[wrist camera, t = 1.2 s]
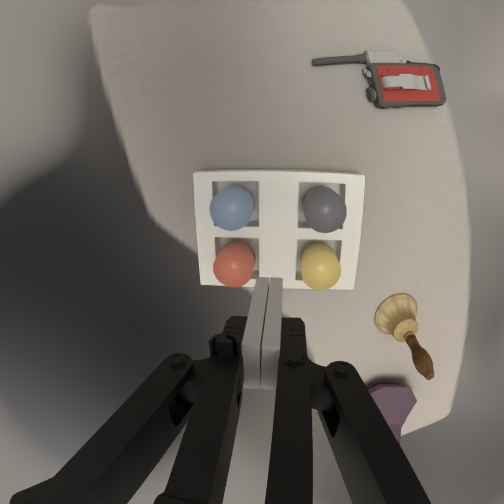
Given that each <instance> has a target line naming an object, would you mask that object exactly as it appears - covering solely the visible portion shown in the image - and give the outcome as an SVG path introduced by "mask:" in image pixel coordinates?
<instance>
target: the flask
mask: <svg viewBox="0 0 504 504" xmlns="http://www.w3.org/2000/svg"><path fill="white" fill-rule="evenodd" d="M368 391H369V392H370V394H371V396H372V398H373V399H374V401H375V403H376V404H377V406H378V408H379V410H380V411H381V413H382V415H383V417H384V418H385V420H386V422H387V424H388V425H389V427H390V429H391V431H392V432H393V434H394V436H395V438H396V440H397V441H398V443H399V445H400V436H401V427H402V426H403V424H404V422H405V420H406V418H407V416H408V415H409V413H410V412H411V410H412V408H413V407H414V405H415V403H416V402H417V400H416V398H415V396H414V394H413V392H412V390H411V388H410V387H406V386H401V385H396V384H376V385H374V386H372V387H370V388H368Z"/></svg>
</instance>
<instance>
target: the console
mask: <svg viewBox="0 0 504 504" xmlns="http://www.w3.org/2000/svg"><path fill="white" fill-rule="evenodd" d="M193 183H194V202H195V218H196V233H197V246H198V258H199V270H200V280H201V285H220V286H225V285H223V284H222V283H220V282H219V281H218V280H217V278H216V277H215V275H214V272H213V264H214V261H215V259H216V257H217V256H218V254H219V252H220V251H221V249H222V247H223V246H224V245H225V244H226V243H228V242H230V241H234V240H238V241H243V242H245V243H247V244H249V245H250V246H251V247H252V249H253V250H254V252H255V256H256V261H255V265H254V269H253V273H252V276H251V278H250V280H249V281H248V282H247V283H246V284H245V285H243V286H242V287H255V283H256V278H257V277H269V284H270V277H277V278H283V288H300V289H312V288H310V287H308V286H307V285H306V284H305V283H304V281H303V279H302V275H301V266H300V256H301V253H302V252H303V250H304V249H305V248H306V247H307V246H309V245H310V244H313V243H325V244H327V245H329V246H330V247H331V248H332V249H333V250H334V252H335V254H336V256H337V259H338V261H339V263H340V266H341V276H340V278H339V280H338V282H337V283H336V284H335V285H334V286H332V287H331V288H329V289H354V282H355V275H356V268H357V261H358V253H359V244H360V235H361V225H362V213H363V200H364V184H365V175H363V174H360V173H356V172H341V171H323V170H298V169H218V170H200V171H197V172H193ZM230 185H241V186H244V187H246V188H247V189H249V190H250V191H251V193H252V194H253V196H254V199H255V209H254V212H253V214H252V216H251V218H250V220H249V222H248V223H247V224H246V225H245V226H244V227H243V228H241V229H239V230H235V231H227V230H224V229H222V228H220V227H218V226H217V225H216V224H215V223H214V222H213V220H212V218H211V216H210V211H209V208H210V203H211V200H212V199H213V197H214V196H215V195H216V194H217V193H218V192H220V191H221V190H223V189H224V188H226V187H227V186H230ZM318 186H325V187H328V188H331V189H332V190H334V191H335V192H336V193H337V194H338V195H339V196H340V197H341V198H342V199H343V200H344V202H345V204H346V208H347V215H346V219H345V221H344V223H343V224H342V226H341V227H340V228H339V229H337V230H336V231H333V232H330V233H320V232H317V231H315V230H313V229H312V228H311V227H310V226H309V225H308V223H307V222H306V219H305V216H304V213H303V209H302V202H303V198H304V196H305V195H306V193H307V192H308V191H309V190H311V189H312V188H314V187H318Z"/></svg>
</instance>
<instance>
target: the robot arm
mask: <svg viewBox="0 0 504 504" xmlns="http://www.w3.org/2000/svg"><path fill="white" fill-rule="evenodd" d="M282 288H283V278H277V277H270V284H269V277H257V278H256V283H255V287H254V292H253V296H252V301H251V305H250V310H249V314H248V317H245V316H231V317H230V318H229V319H228V320H227V321H226V324H225V328H224V330H223V333H221V334H217V335H215V336H213V337H212V338H211V339H210V340H209V347H210V355H211V356H210V357H209V358H206V359H203V360H194V361H192V358H191V357H190V356H188V355H186V354H182V353H176V354H172V355H170V356H168V357H167V358H166V359H164V360H163V362H162V363H161V364H160V365H159V366H158V367H157V368H156V369H155V370H154V371H153V372H152V373H151V374H150V375H149V377H148V378H147V379H146V380H145V381H144V382H143V383H142V384H141V385H140V386H139V387H138V388H137V390H135V392H134V393H133V394H132V395H131V396H130V397H129V398H128V399H127V400H126V401H125V402H124V404H123V405H121V406H120V408H119V409H118V410H117V411H116V412H115V413H114V414H113V415H112V416H111V417H110V418H109V419H108V420H107V421H106V422H105V424H104V425H103V426H102V427H101V428H100V429H99V430H98V431H97V432H96V433H95V434H94V435H93V436H92V437H91V438H90V439H89V440H88V441H87V443H85V445H84V446H83V447H82V448H81V449H80V450H79V451H78V452H77V453H76V454H75V455H74V456H73V457H72V458H71V459H70V460H69V461H68V462H67V464H65V466H64V467H63V468H62V469H61V470H60V471H59V472H58V473H57V474H56V475H55V476H54V477H53V478H50V479H48V480H46V481H44V482H41V483H40V484H37V485H35V486H32V487H30V488H28V489H25V490H23V491H20V492H18V493H16V494H14V495H13V496H12V498H11V500H10V504H127V503H128V502H129V501H130V499H131V498H132V496H133V495H134V494H135V493H136V491H137V490H138V489H139V488H140V486H141V485H142V483H143V482H144V481H145V480H146V478H147V477H148V476H149V474H150V473H151V471H152V470H153V469H154V468H155V466H156V465H157V463H158V462H159V461H160V459H161V458H162V457H163V455H164V454H165V452H166V451H167V450H168V448H169V447H170V445H171V444H172V443H173V441H174V440H175V438H176V437H177V436H178V434H179V433H180V431H181V430H182V429H183V427H184V426H185V424H186V423H187V421H188V423H187V426H186V429H185V432H184V435H183V438H182V441H181V444H180V447H179V450H178V453H177V456H176V459H175V462H174V465H173V468H172V471H171V474H170V477H169V480H168V483H167V486H166V489H165V491H164V492H163V493H162V494H160V495H158V496H157V498H156V499H155V501H154V503H153V504H222V503H223V497H224V493H225V487H226V482H227V477H228V472H229V467H230V461H231V456H232V451H233V446H234V440H235V434H236V429H237V424H238V418H239V413H240V408H241V402H242V387H243V385H244V388H251V389H260V383H261V389H268V390H276V398H275V410H274V421H273V432H272V443H271V453H270V462H269V472H268V481H267V489H266V499H265V504H312V503H313V444H312V443H313V441H312V408H313V409H317V411H318V414H319V417H320V420H321V422H322V425H323V427H324V430H325V433H326V435H327V438H328V440H329V443H330V445H331V448H332V450H333V453H334V456H335V459H336V461H337V464H338V467H339V469H340V471H341V474H342V477H343V480H344V482H345V485H346V488H347V490H348V493H349V495H350V498H351V501H352V503H353V504H431V503H430V501H429V499H428V497H427V495H426V493H425V491H424V489H423V487H422V485H421V483H420V481H419V480H418V478H417V476H416V474H415V472H414V470H413V468H412V467H411V465H410V463H409V461H408V459H407V458H406V456H405V454H404V452H403V450H402V449H401V447H400V445H399V443H398V441H397V440H396V438H395V436H394V434H393V432H392V431H391V429H390V427H389V425H388V424H387V422H386V420H385V418H384V417H383V415H382V413H381V411H380V410H379V408H378V406H377V404H376V403H375V401H374V399H373V398H372V396H371V394H370V392H369V391H368V389H367V387H366V386H365V384H364V382H363V380H362V379H361V377H360V375H359V374H358V372H357V370H356V369H355V367H354V366H353V365H352V364H350V363H348V362H344V361H335V362H332V363H330V364H329V365H328V366H327V367H325V366H320V365H317V364H315V363H313V362H312V361H311V360H309V358H308V356H307V349H306V336H305V323H304V322H303V321H302V320H301V318H285V317H281V316H282Z"/></svg>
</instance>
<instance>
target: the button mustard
mask: <svg viewBox="0 0 504 504" xmlns="http://www.w3.org/2000/svg"><path fill="white" fill-rule="evenodd" d="M300 266H301V275H302V279H303V281H304V283H305V284H306V285H307V286H308V287H310V288H312V289H315V290H326V289H329V288H331V287H332V286H334V285H335V284H336V283H337V282H338V280H339V278H340V276H341V266H340V263H339V261H338V259H337V256H336V254H335V252H334V250H333V249H332V248H331V247H330V246H329V245H327V244H325V243H313V244H310V245H309V246H307V247H306V248H305V249H304V250H303V252H302V253H301V256H300Z"/></svg>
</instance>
